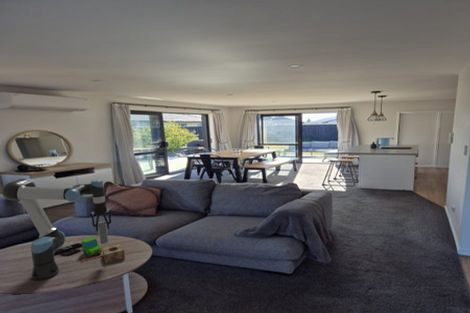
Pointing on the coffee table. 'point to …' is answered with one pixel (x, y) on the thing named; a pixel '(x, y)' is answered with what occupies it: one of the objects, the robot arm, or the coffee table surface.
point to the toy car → (91, 246)
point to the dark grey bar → (103, 232)
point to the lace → (91, 258)
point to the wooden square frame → (113, 253)
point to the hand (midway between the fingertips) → (103, 234)
